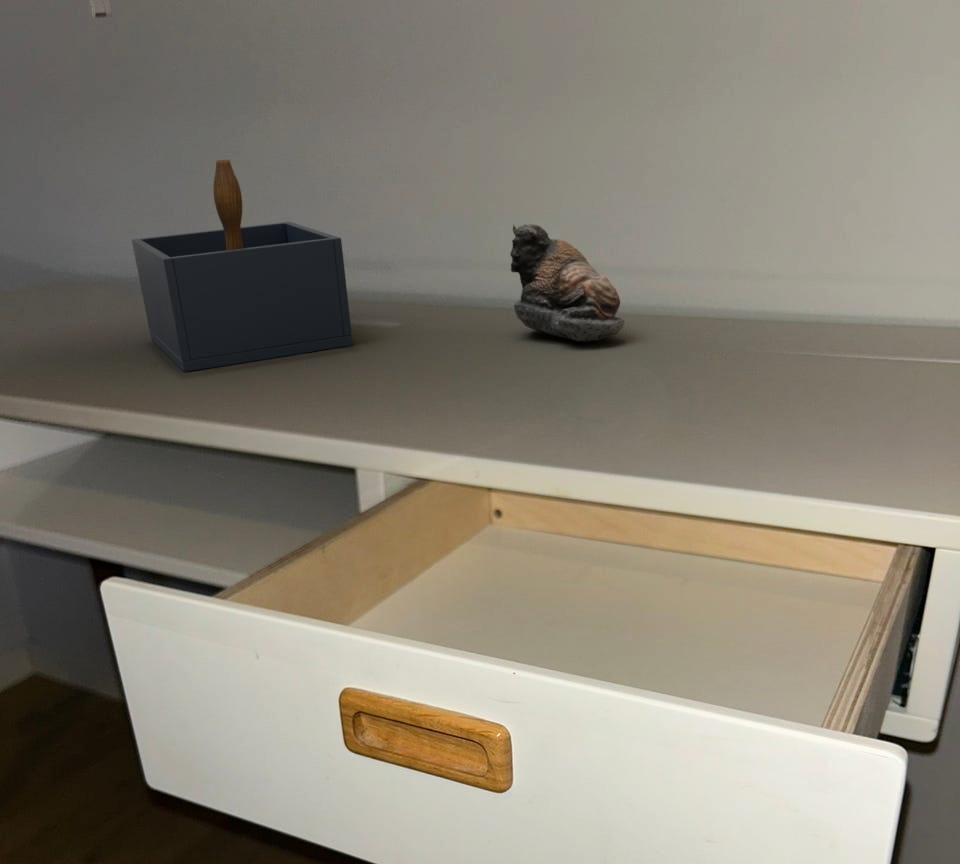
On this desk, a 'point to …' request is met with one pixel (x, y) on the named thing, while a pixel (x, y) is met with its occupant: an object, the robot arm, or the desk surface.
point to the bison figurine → (561, 289)
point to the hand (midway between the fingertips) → (47, 19)
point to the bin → (244, 294)
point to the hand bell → (228, 203)
